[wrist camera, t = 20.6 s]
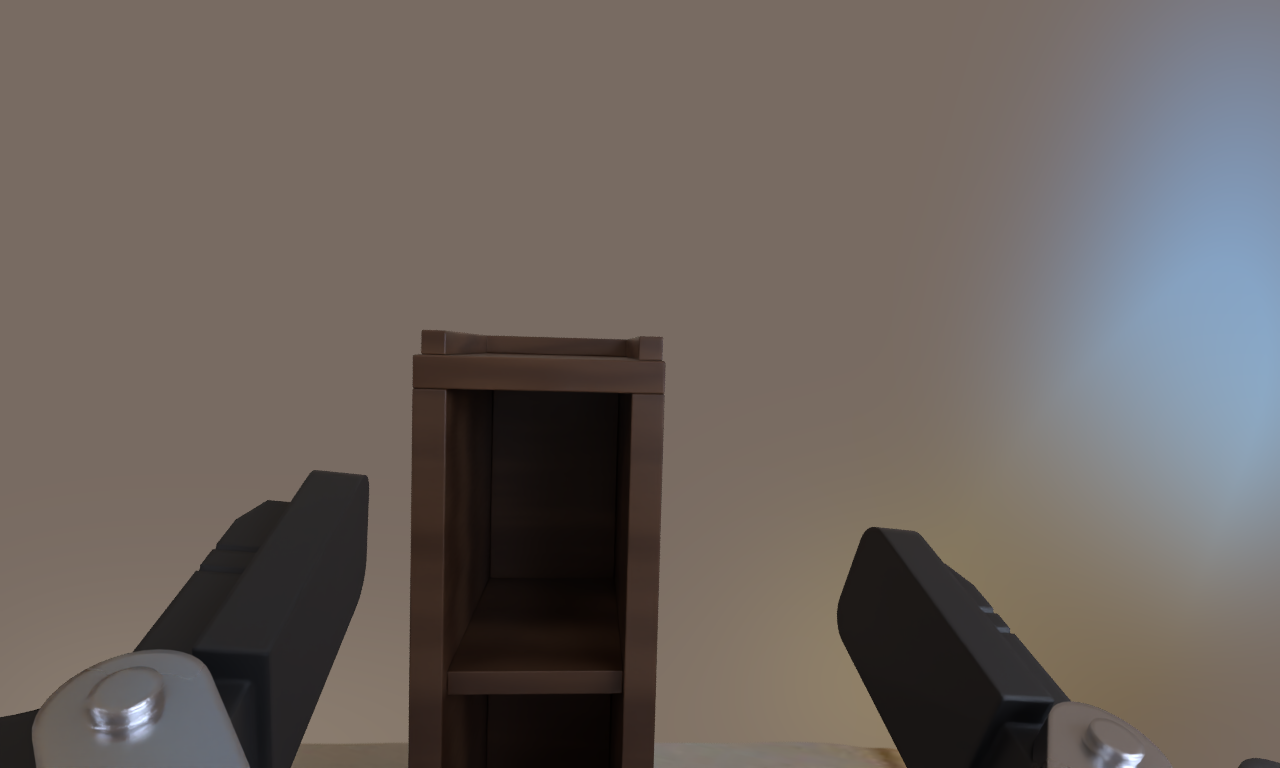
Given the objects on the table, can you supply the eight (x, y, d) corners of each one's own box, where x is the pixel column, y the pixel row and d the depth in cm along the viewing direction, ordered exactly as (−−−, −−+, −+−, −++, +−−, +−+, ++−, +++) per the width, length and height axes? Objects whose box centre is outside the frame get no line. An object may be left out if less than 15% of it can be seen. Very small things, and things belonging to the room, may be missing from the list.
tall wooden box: (646, 992, 35) (666, 336, 33) (405, 1001, 34) (412, 328, 32) (630, 788, 50) (642, 340, 49) (465, 791, 50) (472, 335, 48)
